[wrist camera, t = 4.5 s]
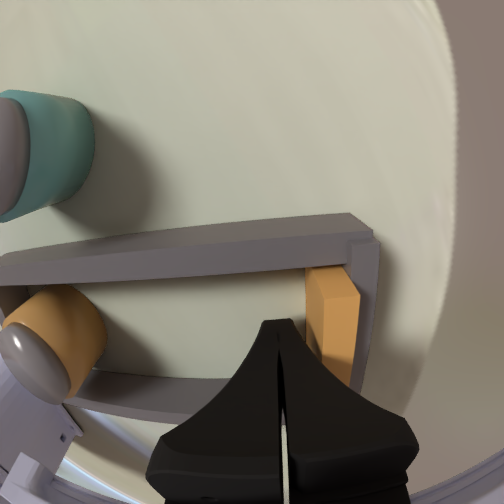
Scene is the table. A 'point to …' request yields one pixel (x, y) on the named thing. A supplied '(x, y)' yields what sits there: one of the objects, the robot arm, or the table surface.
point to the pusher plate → (332, 318)
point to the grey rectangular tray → (187, 265)
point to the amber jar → (53, 342)
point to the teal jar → (41, 150)
